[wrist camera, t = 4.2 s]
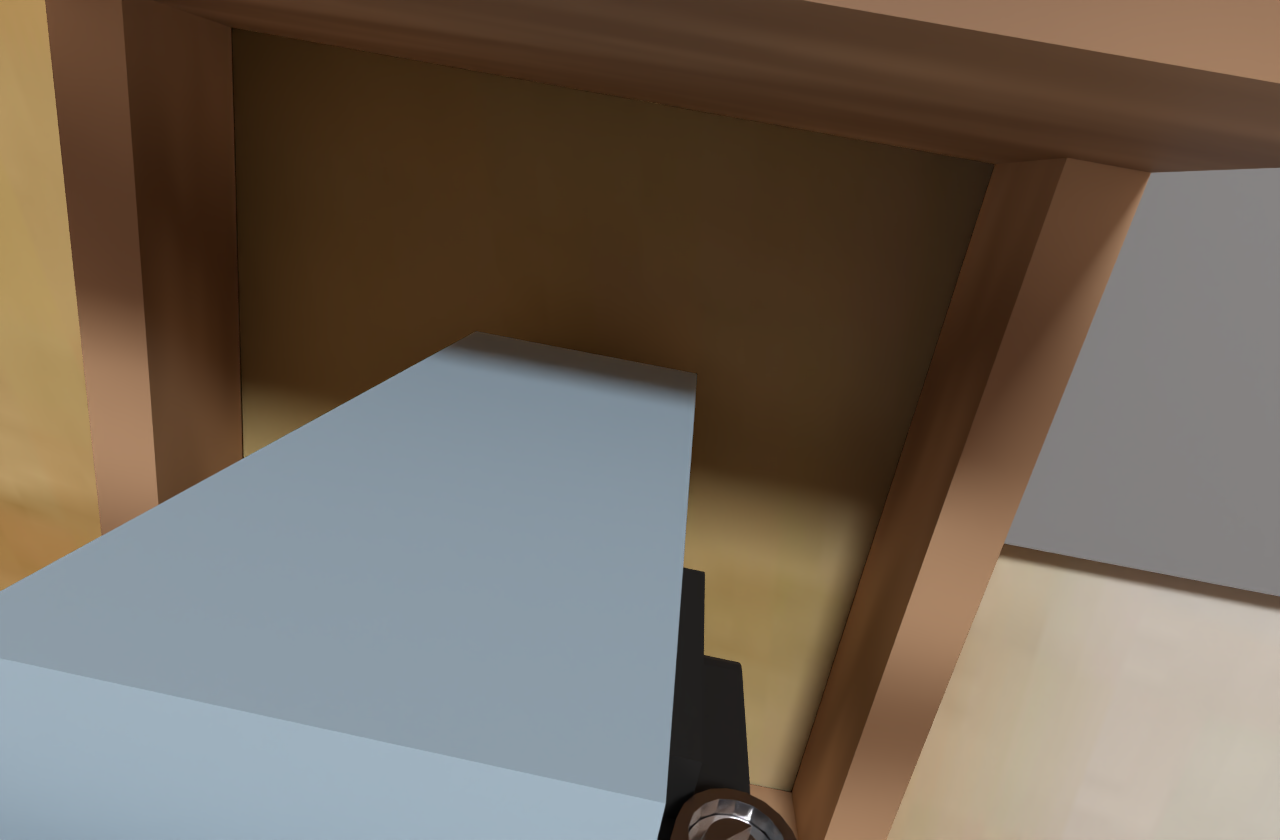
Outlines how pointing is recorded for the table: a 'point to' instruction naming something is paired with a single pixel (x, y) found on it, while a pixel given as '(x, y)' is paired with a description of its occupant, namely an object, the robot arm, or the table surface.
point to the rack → (725, 85)
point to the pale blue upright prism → (376, 623)
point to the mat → (1175, 395)
